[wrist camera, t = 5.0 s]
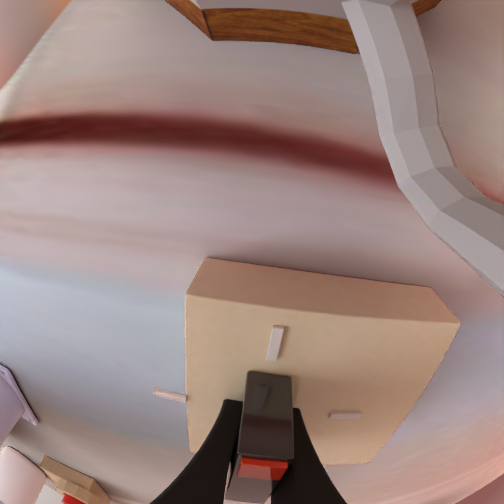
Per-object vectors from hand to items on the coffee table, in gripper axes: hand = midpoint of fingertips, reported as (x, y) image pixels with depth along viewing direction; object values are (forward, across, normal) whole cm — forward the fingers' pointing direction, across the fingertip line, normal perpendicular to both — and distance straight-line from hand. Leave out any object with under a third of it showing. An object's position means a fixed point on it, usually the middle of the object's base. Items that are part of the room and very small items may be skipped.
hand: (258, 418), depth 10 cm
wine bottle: (+4, +35, +41) cm, 54 cm away
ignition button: (0, +18, +31) cm, 35 cm away
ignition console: (+3, +20, +33) cm, 38 cm away
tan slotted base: (+3, -2, 0) cm, 4 cm away
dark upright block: (0, 0, 0) cm, 0 cm away
